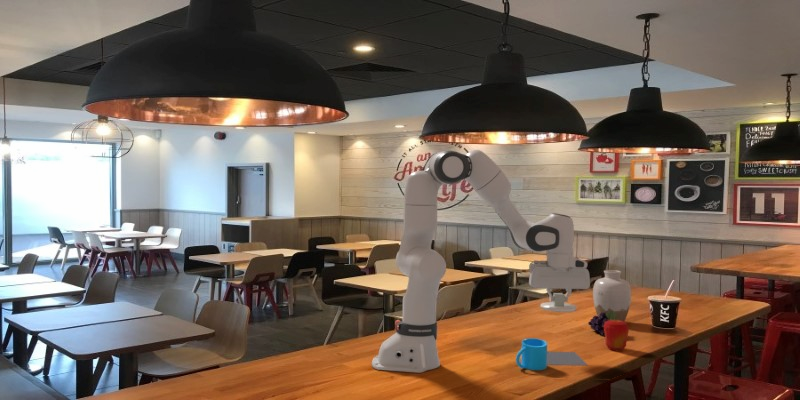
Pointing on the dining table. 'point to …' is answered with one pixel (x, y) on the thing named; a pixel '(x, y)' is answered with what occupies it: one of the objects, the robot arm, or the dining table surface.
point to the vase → (612, 295)
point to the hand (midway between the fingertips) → (558, 301)
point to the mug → (533, 354)
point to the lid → (558, 304)
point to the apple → (616, 334)
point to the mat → (564, 358)
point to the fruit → (601, 321)
